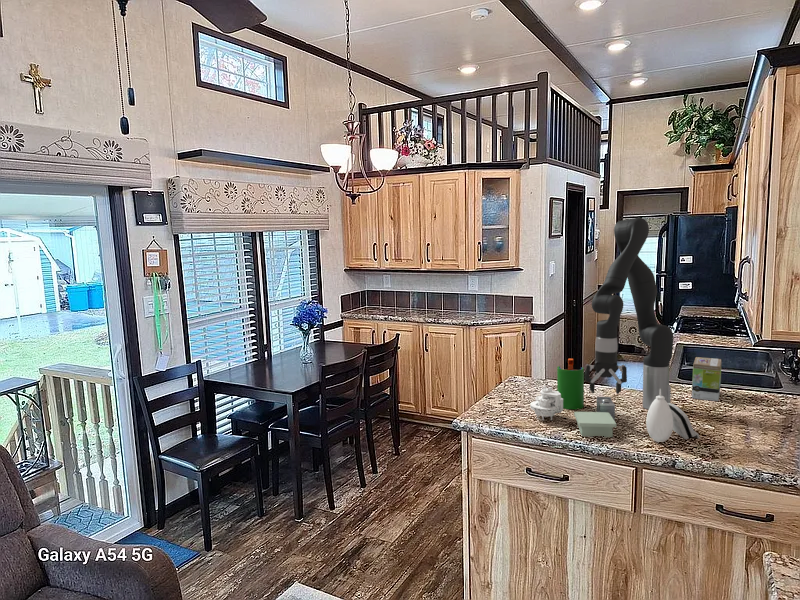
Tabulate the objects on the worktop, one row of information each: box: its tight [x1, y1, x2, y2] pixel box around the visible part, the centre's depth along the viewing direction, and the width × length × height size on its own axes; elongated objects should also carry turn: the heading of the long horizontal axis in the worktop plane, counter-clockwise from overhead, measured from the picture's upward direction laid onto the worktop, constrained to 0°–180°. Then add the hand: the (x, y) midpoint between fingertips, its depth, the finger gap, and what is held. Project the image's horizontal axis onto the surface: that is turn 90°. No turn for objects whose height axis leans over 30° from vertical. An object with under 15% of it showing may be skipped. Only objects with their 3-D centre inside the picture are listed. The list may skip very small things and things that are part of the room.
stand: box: [573, 411, 617, 438], centre depth 187 cm, size 12×12×5 cm
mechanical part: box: [529, 385, 564, 421], centre depth 202 cm, size 11×12×12 cm
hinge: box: [668, 402, 701, 440], centre depth 186 cm, size 17×5×10 cm, turn 178°
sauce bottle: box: [645, 389, 673, 443], centre depth 175 cm, size 8×8×18 cm
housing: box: [596, 396, 616, 422], centre depth 198 cm, size 5×9×8 cm, turn 168°
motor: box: [556, 358, 585, 410], centre depth 214 cm, size 10×9×20 cm
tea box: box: [691, 356, 722, 402], centre depth 223 cm, size 15×10×15 cm, turn 148°
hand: (605, 392), depth 195 cm, fingers open, 8 cm apart
